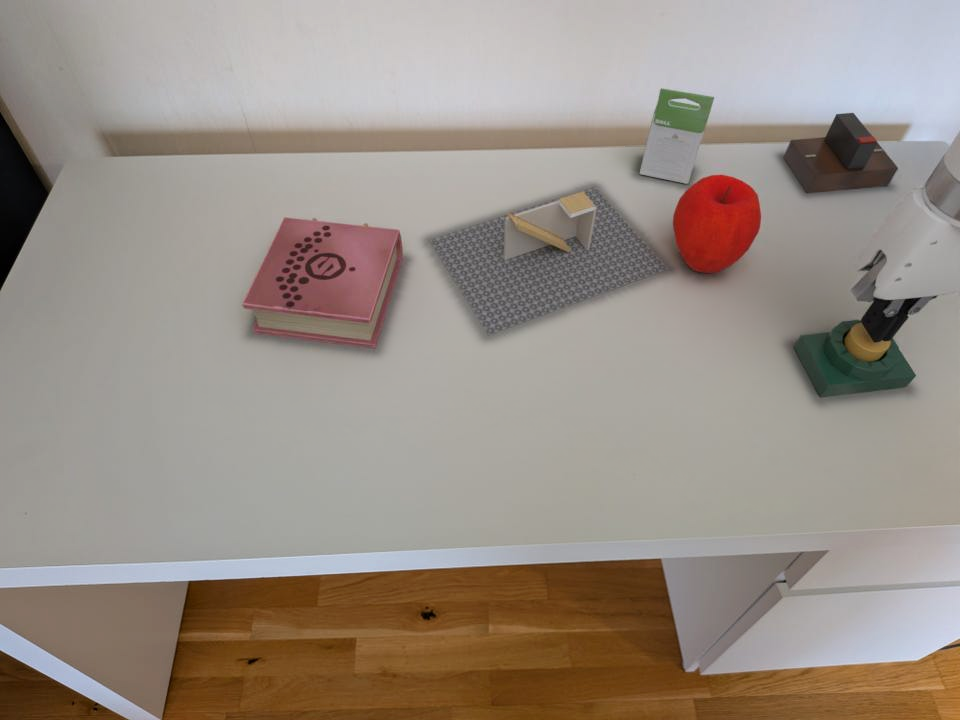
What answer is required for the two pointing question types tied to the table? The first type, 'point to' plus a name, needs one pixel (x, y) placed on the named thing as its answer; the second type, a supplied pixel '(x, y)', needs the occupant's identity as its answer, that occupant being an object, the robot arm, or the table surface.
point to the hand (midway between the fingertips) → (874, 331)
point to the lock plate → (835, 167)
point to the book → (326, 282)
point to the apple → (716, 222)
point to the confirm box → (849, 364)
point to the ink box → (675, 135)
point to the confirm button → (864, 344)
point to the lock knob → (850, 141)
